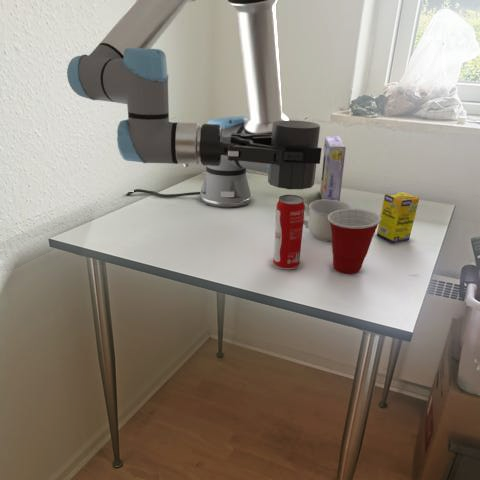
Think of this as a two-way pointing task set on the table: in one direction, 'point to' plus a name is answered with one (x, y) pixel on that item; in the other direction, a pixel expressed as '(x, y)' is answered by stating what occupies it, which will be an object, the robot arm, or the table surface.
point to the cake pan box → (332, 168)
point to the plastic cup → (351, 237)
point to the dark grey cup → (298, 137)
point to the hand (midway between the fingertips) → (317, 150)
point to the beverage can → (288, 231)
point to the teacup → (322, 217)
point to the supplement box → (397, 217)
